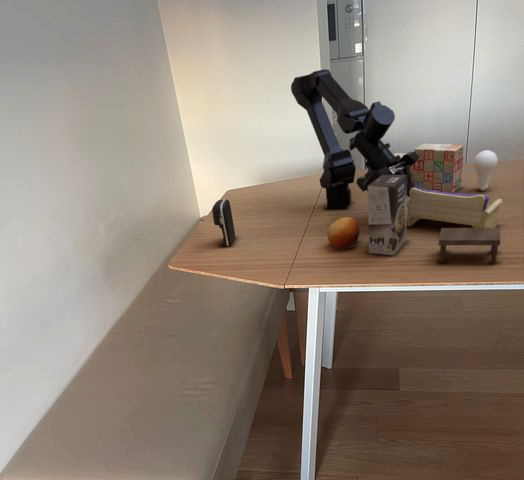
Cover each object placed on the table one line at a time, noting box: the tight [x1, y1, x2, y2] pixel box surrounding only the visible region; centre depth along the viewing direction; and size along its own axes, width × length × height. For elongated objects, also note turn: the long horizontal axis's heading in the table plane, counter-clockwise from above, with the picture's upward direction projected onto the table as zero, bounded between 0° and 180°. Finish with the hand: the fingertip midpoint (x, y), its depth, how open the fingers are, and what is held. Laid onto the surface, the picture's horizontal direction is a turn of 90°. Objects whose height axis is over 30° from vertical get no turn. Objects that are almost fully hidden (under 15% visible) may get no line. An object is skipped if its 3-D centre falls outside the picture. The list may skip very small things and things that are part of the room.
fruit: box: [326, 216, 360, 250], centre depth 127 cm, size 8×8×8 cm
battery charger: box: [211, 198, 237, 247], centre depth 139 cm, size 7×4×11 cm, turn 171°
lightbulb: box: [473, 149, 499, 191], centre depth 145 cm, size 6×6×11 cm
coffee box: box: [367, 175, 408, 256], centre depth 120 cm, size 9×6×16 cm
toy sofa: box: [407, 187, 503, 228], centre depth 126 cm, size 21×9×10 cm, turn 48°
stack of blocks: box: [393, 143, 465, 193], centre depth 154 cm, size 21×6×12 cm, turn 49°
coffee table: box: [438, 227, 501, 265], centre depth 112 cm, size 12×7×6 cm, turn 71°
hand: (413, 196), depth 130 cm, fingers closed, pressing on toy sofa
